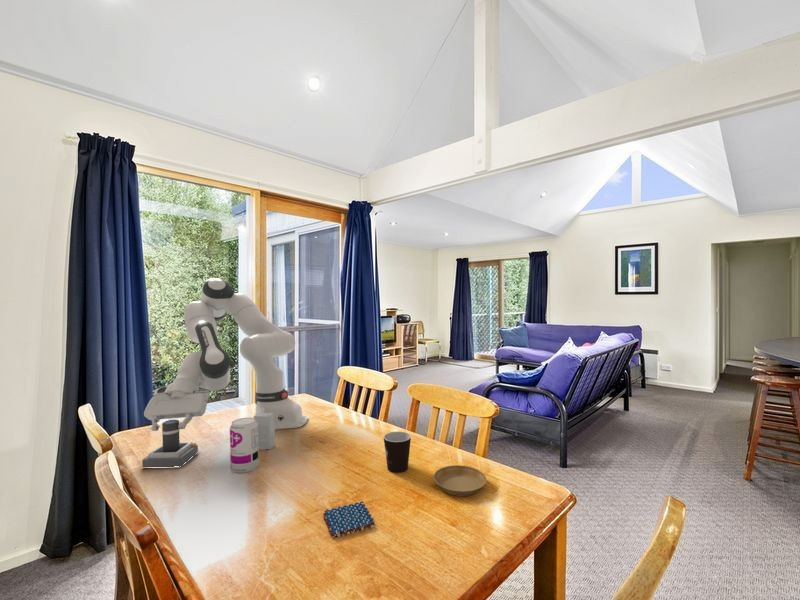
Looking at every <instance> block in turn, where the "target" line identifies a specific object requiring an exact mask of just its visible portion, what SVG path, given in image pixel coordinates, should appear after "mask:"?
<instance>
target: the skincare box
mask: <svg viewBox="0 0 800 600" xmlns="http://www.w3.org/2000/svg"><path fill="white" fill-rule="evenodd" d="M253 418H255V419H256V422H257V424H258V450H266V449H268V451H269V449H270V450H272V449H273V447H275V446H274V445H276V438H275V437H276V436H275V435H276V433H275V431H276V430H275V428H274V413H258V414H257V415H255V414H254V415H253Z"/></svg>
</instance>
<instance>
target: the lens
mask: <svg viewBox="0 0 800 600" xmlns="http://www.w3.org/2000/svg"><path fill="white" fill-rule="evenodd" d="M179 423H180V420H179V419H167V420H165V421H163V422H162V423H161V429H162V430H161V435H162V445H163V453H164V452H177V451H178V450H180V442H181V441H180V430H181V429H180V428H178V426H179Z"/></svg>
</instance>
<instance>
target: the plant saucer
mask: <svg viewBox="0 0 800 600" xmlns="http://www.w3.org/2000/svg"><path fill="white" fill-rule="evenodd" d="M433 480H434V482H435V483H436V485H437V486H438V487H439V488H440V489H442V490H443V491H444V492H445V493H447V494H449V495H453V496H458V497H459V496H460V497H461V496H462V497H463V496H464V497H465V496H471V495H474V494H476V493H478V492H479V491H481V489H482V488H483V487H484V486H485V485H486V483H487V477H486V475H485V474H484V473H483V472H482V471H481V470H479V469H477V468H474V467H471V466H466V465H459V464H458V465H447V466H444V467H441V468H439V469H437V470H436V471H435V472H434V473H433Z"/></svg>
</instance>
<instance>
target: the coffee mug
mask: <svg viewBox="0 0 800 600" xmlns="http://www.w3.org/2000/svg"><path fill="white" fill-rule="evenodd" d="M411 438H412V436H411V434H410V433H408V432H404V431H390V432H388V433H385V434H384V435H383V444H384V450H385V453H384V454H385V459H386V468H387V471H389V472H390V473H393V474H402V473H404V472H406V471H408V469H409V461H410V459H409V458H410V453H411V452H410V449H411V440H412V439H411Z"/></svg>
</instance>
